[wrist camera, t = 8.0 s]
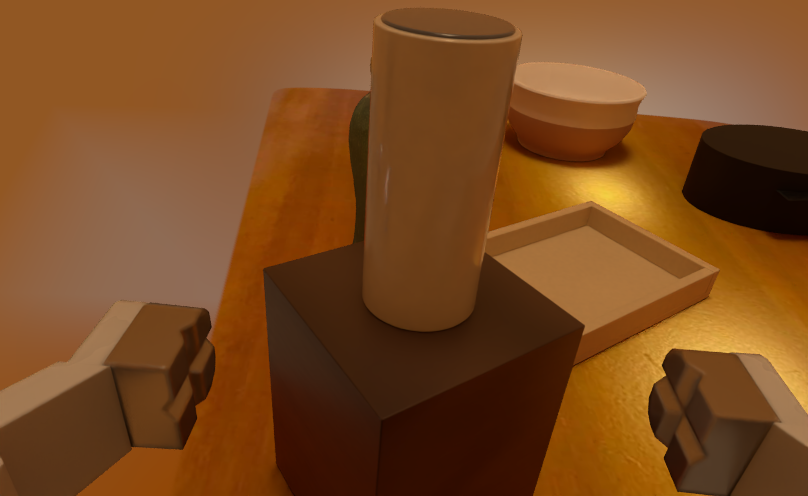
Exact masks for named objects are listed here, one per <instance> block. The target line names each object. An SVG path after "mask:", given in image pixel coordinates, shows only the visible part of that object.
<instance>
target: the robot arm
mask: <svg viewBox="0 0 808 496" xmlns="http://www.w3.org/2000/svg"><path fill="white" fill-rule="evenodd" d="M211 327H212V326H211V321H210V315H209V312H208V311H207V310H206V309H204V308H196V307H187V306H177V305H168V304H159V303H145V302H135V301H126V300H120V301H118V302H116V303H114V304H113V305H112V306H111V307H110V309H109V310H108V311H107V313H106V314H105V315H104V316H103V318H102V319H101V320H100V321H99V323H98V324H97V325H96V327H95V328H94V329H93V331H92V332H91V333H90V334H89V336H88V337H87V338H86V339H85V341H84V342H83V343H82V344H81V346H80V347H79V348H78V350H77V351H76V352H75V353H74V355H73V356H72V357H71V359H70V360H69V361H68V362H57V363H55V364H53V365H51V366H49V367H47V368H45V369H43V370H41V371H39V372H37V373H35V374H33V375H31V376H29V377H27V378H25V379H23V380H21V381H19V382H17V383H15V384H13V385H11V386H9V387H7V388H5V389H3V390H1V391H0V496H76V495H77V494H78V493H79V492H81V491H82V490H83V489H84V488H86V487H87V486H88V485H89V484H90V483H92V482H93V481H94V480H95V479H97V478H98V477H99V476H100V475H101V474H103V473H104V472H105V471H106V470H108V469H109V468H110V467H111V466H112V465H114V464H115V463H116V462H117V461H119V460H120V459H121V458H122V457H123V456H125V455H126V454H127V453H128V452H130V451H131V449H132V448H131V447H146V448H162V449H163V448H164V449H180V450H183V448H184V446H185V444H186V442H187V440H188V437H189V435H190V433H191V431H192V429H193V426H194V424H195V422H196V420H197V415H196V408H195V406H196V405H197V404H199V403H200V402H202V401H203V400H205V399H206V397H207V395H208V393H209V390H210V388H211V385H212V381H213V376H214V372H215V349H214V346H213V345H212V344H211V343H210V341H209V340H208V339H207V338H206V337H207V335H208V333H209V331H210V329H211ZM662 367H663V369H664V371H665V373H666V376H665V377H663V378H662V379H660V380H659V381H657V382H656V383H655V384H654V385H653V388H652V391H651V394H650V396H649V406H648V415H649V421H650V425H651V428H652V431H653V433H654V436H655V437H656V438H657V439H658V440H659V441H660V442H662V443H663V444H664V445H665V446H666V447H667V448H668V450H667V452H666V454H665V456H664V460H665V463H666V465H667V468H668V470H669V472H670V475H671V477H672V480H673V482H674V484H675V487H676V489H677V492H686V493H695V494H704V495H712V496H808V414H807V413H806V412H805V410H804V409H803V408H802V406H801V405H800V403H799V402H798V401H797V399H796V398H795V396H794V395H793V394H792V392H791V391H790V390H789V388H788V387H787V385H786V384H785V383H784V381H783V380H782V378H781V377H780V376H779V374H778V373H777V372H776V370H775V369H774V367H773V366H772V365H771V363H770V362H769V361H768V359H766V358H765V357H763V356H762V355H760V354H746V353H721V352H709V351H696V350H684V349H672V350H671V351H670V352H669V353H668V354H667V355H666V357H665V359H664V361H663V364H662Z"/></svg>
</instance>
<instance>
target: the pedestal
mask: <svg viewBox="0 0 808 496" xmlns="http://www.w3.org/2000/svg"><path fill="white" fill-rule="evenodd" d="M363 253H364V241H362V242H358V243H355V244H351V245H347V246H344V247H340V248H337V249H333V250H329V251H326V252H322V253H318V254H315V255H311V256H307V257H304V258H300V259H296V260H293V261H289V262H285V263H282V264H278V265H275V266H271V267H267V268H264V269H263V272H264V287H265V302H266V317H267V332H268V347H269V362H270V377H271V392H272V408H273V423H274V438H275V453H276V464H277V465H278V467H279V469H280V471H281V473H282V474H283V476H284V478H285V480H286V482H287V483H288V485H289V487H290V489H291V491H292V492H293V494H294V496H533V494H534V490H535V487H536V484H537V481H538V477H539V474H540V471H541V468H542V464H543V461H544V458H545V455H546V451H547V448H548V445H549V442H550V438H551V435H552V432H553V429H554V425H555V422H556V419H557V416H558V412H559V409H560V406H561V403H562V400H563V396H564V393H565V390H566V387H567V383H568V380H569V377H570V374H571V370H572V367H573V364H574V361H575V357H576V354H577V351H578V348H579V344H580V341H581V338H582V335H583V331H584V328H585V325H584V324H583V323H581V322H580V321H579V320H577V319H576V318H574V317H573V316H572V315H570V314H569V313H568V312H566V311H565V310H564V309H562V308H561V307H559V306H558V305H557V304H555V303H554V302H553V301H551V300H550V299H549V298H547V297H546V296H544V295H543V294H542V293H540V292H539V291H538V290H536V289H535V288H534V287H532V286H531V285H529V284H528V283H527V282H525V281H524V280H523V279H521V278H520V277H519V276H517V275H516V274H514V273H513V272H512V271H510V270H509V269H508V268H506V267H505V266H504V265H502V264H501V263H499V262H498V261H497V260H495V259H494V258H493V257H491V256H490V255H489V254H487V253H486V252H484V258H483V264H482V270H481V275H480V281H479V287H478V292H477V298H476V304H475V308H474V310H473V312H472V313H471V315H470V316H469V317H468V318H467V319H466V320H465V321H463V322H462V323H460V324H459V325H456V326H454V327H452V328H449V329H445V330H441V331H433V332H417V331H409V330H405V329H400V328H397V327H394V326H392V325H389V324H387V323H385V322H383V321H381V320H380V319H378V318H377V317H376V316H374V315H373V314H372V313H371V312H370V311H369V309H368V308H367V307H366V305H365V303H364V301H363V298H362V276H363Z"/></svg>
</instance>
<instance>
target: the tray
mask: <svg viewBox="0 0 808 496" xmlns="http://www.w3.org/2000/svg"><path fill="white" fill-rule="evenodd" d="M485 252H486V253H487V254H489V255H490V256H491V257H493V258H494V259H495V260H497V261H498V262H499V263H501V264H502V265H504V266H505V267H506V268H508V269H509V270H510V271H512V272H513V273H514V274H516V275H517V276H519V277H520V278H521V279H523V280H524V281H525V282H527V283H528V284H529V285H531V286H532V287H534V288H535V289H536V290H538V291H539V292H540V293H542V294H543V295H544V296H546V297H547V298H549V299H550V300H551V301H553V302H554V303H555V304H557V305H558V306H559V307H561V308H562V309H564V310H565V311H566V312H568V313H569V314H570V315H572V316H573V317H574V318H576V319H577V320H579V321H580V322H581V323H583V324H584V325H585V328H584V331H583V335H582V338H581V341H580V344H579V348H578V351H577V354H576V357H575V361H574V364H573V365H575V364H577V363H579V362H581V361H583V360H585V359H587V358H589V357H591V356H593V355H595V354H597V353H599V352H601V351H603V350H605V349H607V348H609V347H611V346H613V345H614V344H616V343H618V342H620V341H622V340H624V339H626V338H628V337H630V336H632V335H634V334H636V333H638V332H640V331H642V330H644V329H646V328H648V327H650V326H652V325H654V324H656V323H658V322H660V321H662V320H664V319H666V318H668V317H669V316H671V315H673V314H675V313H677V312H679V311H681V310H683V309H685V308H687V307H689V306H691V305H693V304H695V303H697V302H699V301H701V300H703V299H705V298H707V297H708V296H709V294H710V291H711V289H712V287H713V284H714V282H715V280H716V278H717V275H718V273H719V271H720V270H719V269H717V268H716V267H714V266H712V265H710V264H708V263H706V262H704V261H703V260H701V259H699V258H697V257H695V256H693V255H691V254H689V253H688V252H686V251H684V250H682V249H680V248H678V247H676V246H675V245H673V244H671V243H669V242H667V241H665V240H663V239H662V238H660V237H658V236H656V235H654V234H652V233H650V232H648V231H647V230H645V229H643V228H641V227H639V226H637V225H635V224H634V223H632V222H630V221H628V220H626V219H624V218H622V217H621V216H619V215H617V214H615V213H613V212H611V211H609V210H607V209H606V208H604V207H602V206H600V205H598V204H596V203H594V202H593V201H589V202H586V203H582V204H579V205H576V206H572V207H569V208H566V209H562V210H559V211H556V212H553V213H549V214H546V215H543V216H539V217H536V218H533V219H530V220H526V221H523V222H520V223H516V224H513V225H510V226H506V227H503V228H500V229H497V230H493V231H490V232H488V235H487V241H486V247H485Z"/></svg>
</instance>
